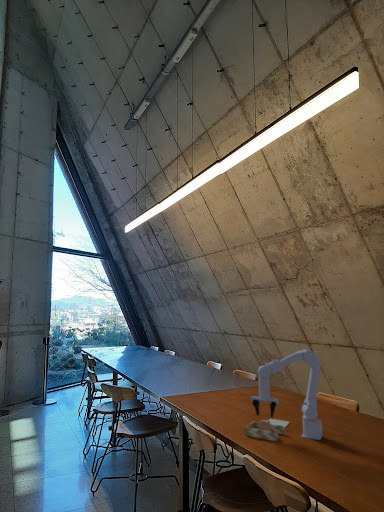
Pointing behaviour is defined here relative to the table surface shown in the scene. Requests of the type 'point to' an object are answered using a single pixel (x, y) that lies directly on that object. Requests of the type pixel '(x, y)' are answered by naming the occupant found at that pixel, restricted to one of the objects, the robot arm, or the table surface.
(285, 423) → the mat
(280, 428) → the slot housing
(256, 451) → the table surface
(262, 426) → the terracotta block
